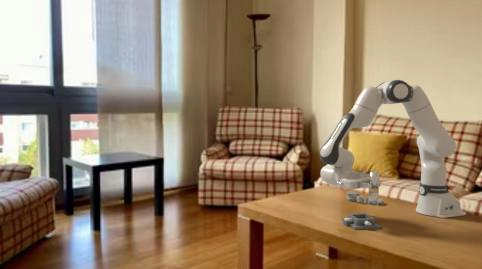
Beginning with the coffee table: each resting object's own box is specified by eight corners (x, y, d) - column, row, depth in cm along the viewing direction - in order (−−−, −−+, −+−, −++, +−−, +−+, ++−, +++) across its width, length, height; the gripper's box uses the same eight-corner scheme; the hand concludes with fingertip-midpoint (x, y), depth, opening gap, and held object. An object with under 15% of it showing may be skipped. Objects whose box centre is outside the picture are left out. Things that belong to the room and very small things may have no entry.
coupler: (374, 202, 182) (376, 171, 181) (379, 205, 178) (381, 173, 177) (366, 203, 181) (368, 171, 180) (370, 205, 178) (372, 173, 176)
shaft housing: (366, 219, 188) (367, 211, 188) (382, 229, 175) (382, 221, 174) (338, 220, 186) (339, 212, 186) (352, 230, 172) (352, 222, 172)
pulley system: (365, 209, 209) (388, 205, 214) (364, 200, 208) (388, 196, 214) (332, 198, 234) (353, 195, 240) (332, 190, 233) (353, 187, 239)
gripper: (335, 174, 183) (360, 180, 172) (364, 171, 195) (390, 176, 184) (334, 188, 184) (359, 195, 173) (363, 184, 196) (389, 190, 184)
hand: (375, 185), depth 178 cm, fingers closed on coupler, 4 cm apart
